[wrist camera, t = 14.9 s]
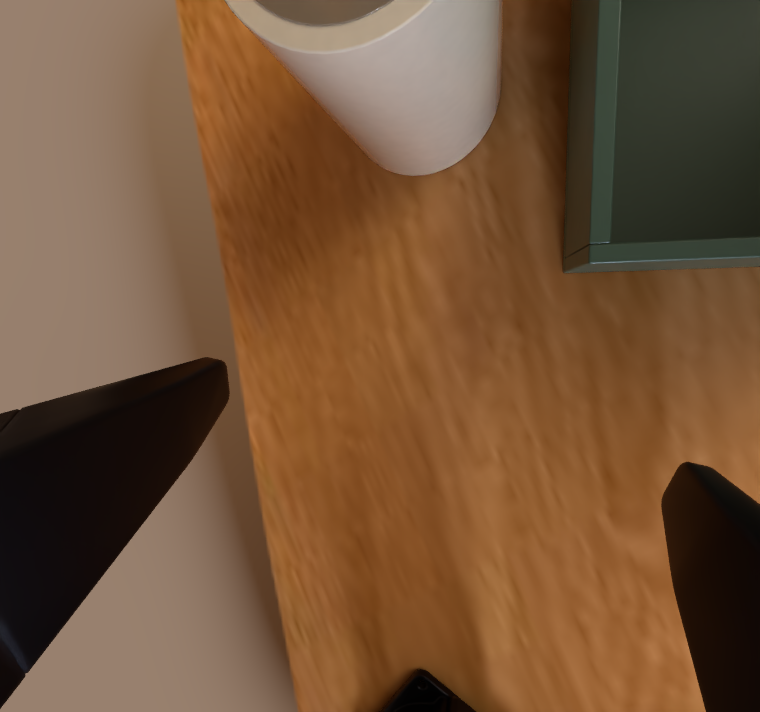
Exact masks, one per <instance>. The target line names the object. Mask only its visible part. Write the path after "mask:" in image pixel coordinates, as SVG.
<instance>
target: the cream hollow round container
mask: <svg viewBox="0 0 760 712" xmlns="http://www.w3.org/2000/svg"><path fill="white" fill-rule="evenodd" d="M225 2H226V3H227V5H228V6H229V8H230V9H231V10H232V12H233V13H234V14H235V15H236V16H237V17H238V18H239V19H240V20H241V22H242V23H243V24H244V25H245V26H246V27H247V28H248V29H249V30H250V31H251V32H252V33H253V34H254V35H255V37H256V38H257V39H258V40H259V41H260V42H261V43H262V44H263V45H264V46H265V47H266V48H267V49H268V50H269V52H270V53H271V54H272V55H273V56H274V57H275V58H276V59H277V60H278V61H279V62H280V63H281V64H282V65H283V67H284V68H285V69H286V70H287V71H288V72H289V73H290V74H291V75H292V76H293V77H294V78H295V79H296V80H297V82H298V83H299V84H300V85H301V86H302V87H303V88H304V89H305V90H306V91H307V92H308V93H309V94H310V95H311V97H312V98H313V99H314V100H315V101H316V102H317V103H318V104H319V105H320V106H321V107H322V108H323V109H324V110H325V112H326V113H327V114H328V115H329V116H330V117H331V118H332V119H333V120H334V121H335V122H336V123H337V124H338V126H339V127H340V128H341V129H342V130H343V131H344V132H345V133H346V134H347V135H348V136H349V137H350V138H351V139H352V141H353V142H354V143H355V144H356V145H357V146H358V147H359V148H360V149H361V150H362V151H363V152H364V153H365V154H366V155H367V157H368V158H369V159H371V160H372V161H373V162H374V163H376V164H377V165H379V166H380V167H382V168H384V169H386V170H388V171H391V172H393V173H397V174H401V175H410V176H418V175H427V174H432V173H435V172H438V171H441V170H444V169H446V168H448V167H450V166H452V165H454V164H455V163H457V162H458V161H460V160H461V159H463V158H464V157H465V156H466V155H467V154H469V153H470V152H471V151H472V150H473V149H474V148H475V147H476V146H477V145H478V143H479V142H480V141H481V139H482V138H483V137H484V135H485V134H486V132H487V130H488V129H489V127H490V125H491V123H492V121H493V118H494V116H495V113H496V110H497V107H498V104H499V99H500V93H501V76H502V17H503V0H225Z"/></svg>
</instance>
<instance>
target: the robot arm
mask: <svg viewBox="0 0 760 712" xmlns="http://www.w3.org/2000/svg"><path fill="white" fill-rule="evenodd" d="M229 394H230V393H229V382H228V374H227V366H226V364H225V362H223V361H222V360H218V359H213V358H208V357H205V358H201V359H197V360H194V361H190V362H186V363H183V364H180V365H176V366H172V367H169V368H165V369H161V370H158V371H154V372H150V373H147V374H143V375H139V376H136V377H132V378H128V379H125V380H121V381H118V382H114V383H111V384H107V385H103V386H99V387H96V388H92V389H89V390H85V391H81V392H78V393H74V394H71V395H67V396H63V397H60V398H56V399H53V400H49V401H45V402H42V403H38V404H34V405H31V406H27V407H24V408H22V409H21V410H18V409H16V410H12V411H9V412H5V413H1V414H0V709H1V707H2V706H3V704H4V703H5V702H6V701H7V699H8V698H9V697H10V696H11V694H12V693H13V691H14V690H15V689H16V688H17V687H18V685H19V684H20V683H21V681H22V680H23V679H24V677H25V673H28V672H29V671H30V669H31V668H32V666H33V665H34V664H35V663H36V661H37V660H38V659H39V657H40V656H41V655H42V654H43V652H44V651H45V650H46V648H47V647H48V646H49V644H50V643H51V642H52V641H53V639H54V638H55V637H56V635H57V634H58V633H59V632H60V630H61V629H62V628H63V626H64V625H65V624H66V623H67V621H68V620H69V619H70V617H71V616H72V615H73V614H74V612H75V611H76V610H77V608H78V607H79V606H80V604H81V603H82V602H83V600H84V599H85V598H86V597H87V595H88V594H89V593H90V591H91V590H92V589H93V587H94V586H95V585H96V584H97V582H98V581H99V580H100V579H101V577H102V576H103V575H104V573H105V572H106V571H107V569H108V568H109V567H110V566H111V564H112V563H113V562H114V560H115V559H116V558H117V556H118V555H119V554H120V553H121V551H122V550H123V548H124V547H125V546H126V545H127V543H128V542H129V541H130V540H131V538H132V537H133V536H134V534H135V533H136V532H137V531H138V529H139V528H140V527H141V525H142V524H143V523H144V521H145V520H146V519H147V518H148V516H149V515H150V514H151V512H152V511H153V510H154V509H155V507H156V506H157V505H158V503H159V502H160V501H161V499H162V498H163V497H164V496H165V494H166V493H167V492H168V490H169V489H170V488H171V486H172V485H173V484H174V483H175V481H176V480H177V479H178V478H179V476H180V475H181V474H182V472H183V471H184V470H185V468H186V467H187V466H188V464H189V463H190V462H191V460H192V459H193V457H194V456H195V454H196V453H197V451H198V450H199V448H200V447H201V445H202V443H203V442H204V440H205V438H206V437H207V435H208V434H209V432H210V430H211V429H212V427H213V426H214V424H215V422H216V421H217V419H218V417H219V416H220V414H221V413H222V411H223V409H224V408H225V406H226V404H227V402H228V400H229ZM661 507H662V514H663V521H664V528H665V535H666V542H667V549H668V556H669V563H670V570H671V576H672V582H673V588H674V592H675V596H676V600H677V604H678V608H679V612H680V616H681V619H682V623H683V627H684V631H685V634H686V638H687V642H688V646H689V649H690V653H691V657H692V661H693V664H694V668H695V672H696V676H697V679H698V683H699V687H700V691H701V694H702V698H703V702H704V706H705V709H706V712H760V504H759V503H757V502H756V501H755V500H753V499H752V498H751V497H749V496H748V495H747V494H746V493H744V492H743V491H742V490H740V489H739V488H738V487H736V486H735V485H734V484H733V483H731V482H730V481H729V480H727V479H726V478H725V477H723V476H722V475H721V474H719V473H718V472H717V471H716V470H714V469H713V468H711V467H708V466H704V465H699V464H695V463H690V462H685V463H682V464H681V465H680V466H679V467H678V469H677V470H676V472H675V474H674V476H673V478H672V479H671V481H670V483H669V485H668V487H667V488H666V490H665V492H664V494H663V497H662V504H661ZM420 680H423V681H425V683H423V682H421V681H420ZM379 712H476V711H475V710H473V709H472V708H471V707H470V706H469V705H467V704H466V703H465V702H464V701H463V700H461V699H460V698H459V697H458V696H457V695H455V694H454V693H453V692H452V691H451V690H449V689H448V688H447V687H446V686H444V685H443V684H442V683H441V682H440V681H438V680H437V679H436V678H435V677H434V676H432V675H431V674H430V673H429V672H427V671H426V670H422V669H420V670H417V671H415V672H414V674H413V675H412V676H411V677H410V678H409V679H408V680H407V681H406V682H405V684H404V685H403V686H402V687H401V688H400V689H399V690H398V691H397V693H396V694H395V695H394V696H393V697H392V698H391V699H390V700H389V701H388V703H387V704H386V705H385V706H384V707H383V708H382V709H381V710H380V711H379Z"/></svg>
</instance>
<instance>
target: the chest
mask: <svg viewBox="0 0 760 712" xmlns="http://www.w3.org/2000/svg"><path fill="white" fill-rule="evenodd" d="M733 267H760V0H572V3H571V34H570V65H569V96H568V127H567V158H566V189H565V220H564V251H563V273H583V272H613V271H643V270H673V269H703V268H733Z"/></svg>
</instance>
